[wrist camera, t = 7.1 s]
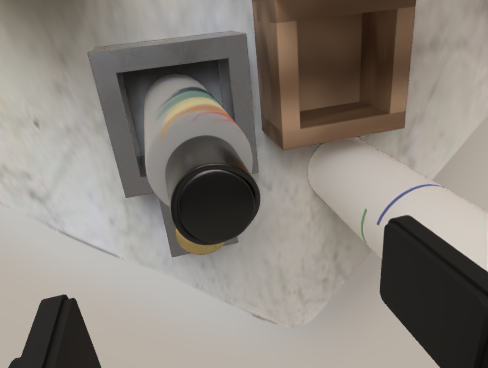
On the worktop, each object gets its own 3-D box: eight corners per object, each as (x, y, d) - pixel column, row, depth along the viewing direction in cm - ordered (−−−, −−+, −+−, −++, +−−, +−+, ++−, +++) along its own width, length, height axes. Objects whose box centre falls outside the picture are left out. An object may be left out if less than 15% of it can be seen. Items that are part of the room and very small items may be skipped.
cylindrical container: (382, 150, 40) (681, 318, 18) (347, 206, 42) (578, 422, 20) (329, 124, 37) (606, 284, 15) (295, 185, 39) (496, 408, 17)
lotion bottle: (178, 149, 34) (216, 291, 17) (129, 105, 32) (114, 218, 14) (222, 106, 34) (310, 205, 16) (176, 57, 31) (222, 112, 14)
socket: (95, 47, 29) (87, 53, 25) (231, 31, 31) (246, 33, 27) (143, 234, 37) (143, 263, 33) (250, 211, 39) (264, 236, 35)
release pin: (167, 184, 34) (171, 214, 29) (214, 175, 35) (226, 203, 30) (175, 225, 36) (181, 259, 31) (220, 215, 37) (232, 248, 32)
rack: (251, -15, 30) (346, -40, 16) (373, -27, 32) (553, -59, 18) (262, 130, 36) (341, 205, 21) (367, 112, 38) (503, 170, 23)
